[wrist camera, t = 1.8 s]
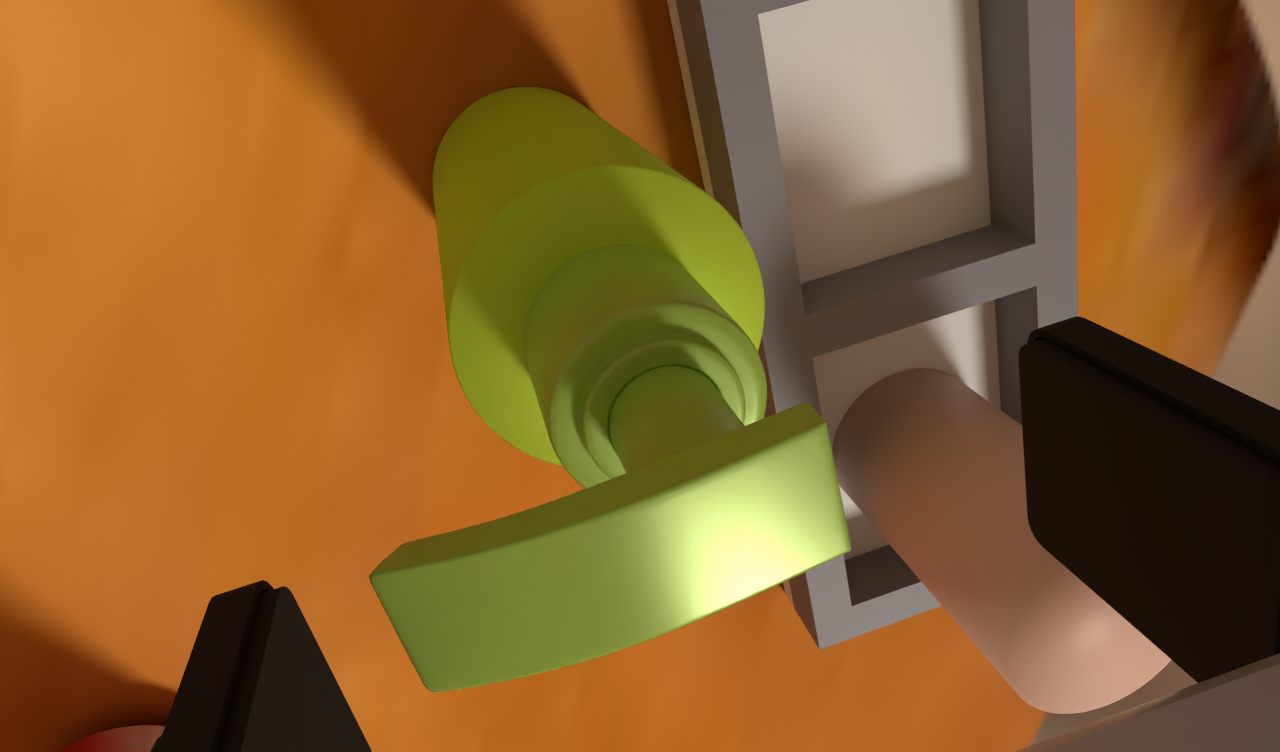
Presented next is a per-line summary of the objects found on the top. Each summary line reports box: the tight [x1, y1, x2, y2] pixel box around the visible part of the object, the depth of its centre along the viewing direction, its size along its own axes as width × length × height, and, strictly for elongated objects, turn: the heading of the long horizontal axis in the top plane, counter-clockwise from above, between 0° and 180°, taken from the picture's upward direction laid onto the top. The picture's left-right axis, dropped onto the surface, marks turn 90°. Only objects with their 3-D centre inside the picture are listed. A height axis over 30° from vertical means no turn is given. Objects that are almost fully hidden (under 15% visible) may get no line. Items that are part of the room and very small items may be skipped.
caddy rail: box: [667, 0, 1171, 714], centre depth 26 cm, size 26×11×12 cm, turn 13°
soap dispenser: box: [369, 87, 851, 692], centre depth 19 cm, size 6×7×20 cm
